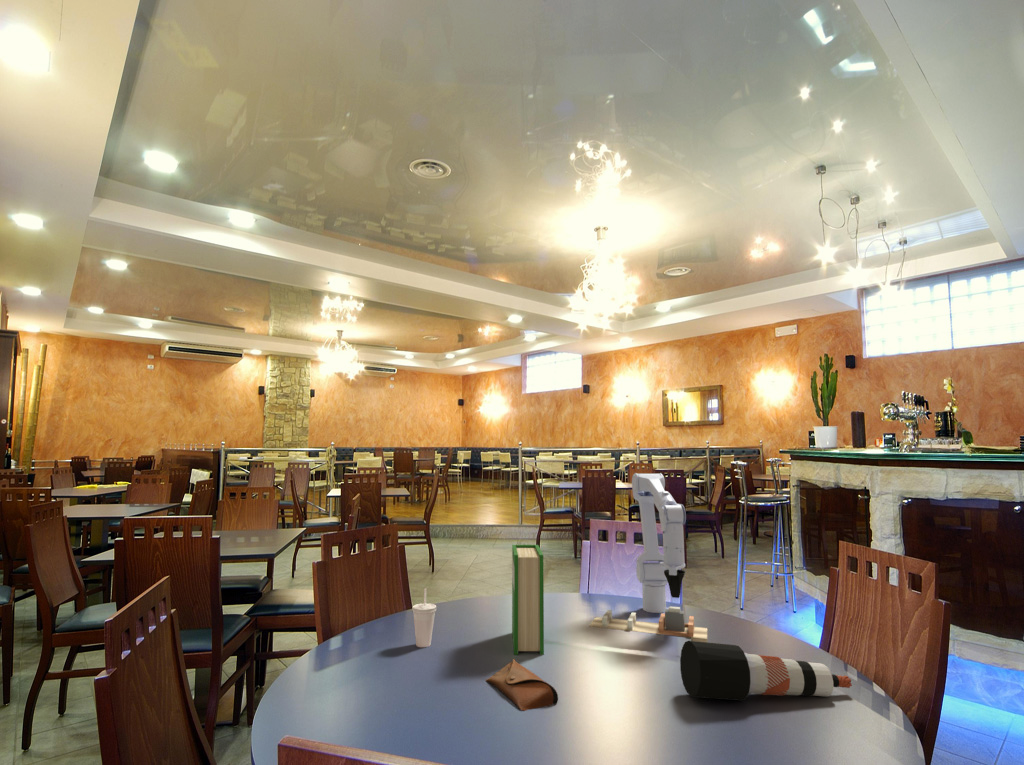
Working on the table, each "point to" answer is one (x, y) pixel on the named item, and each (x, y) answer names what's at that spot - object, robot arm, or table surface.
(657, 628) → the wooden board with blocks
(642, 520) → the robot arm
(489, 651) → the table surface
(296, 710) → the table surface
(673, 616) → the plug
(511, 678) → the sunglasses case
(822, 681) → the striped tapered cone
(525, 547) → the hardback book
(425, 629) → the smoothie
